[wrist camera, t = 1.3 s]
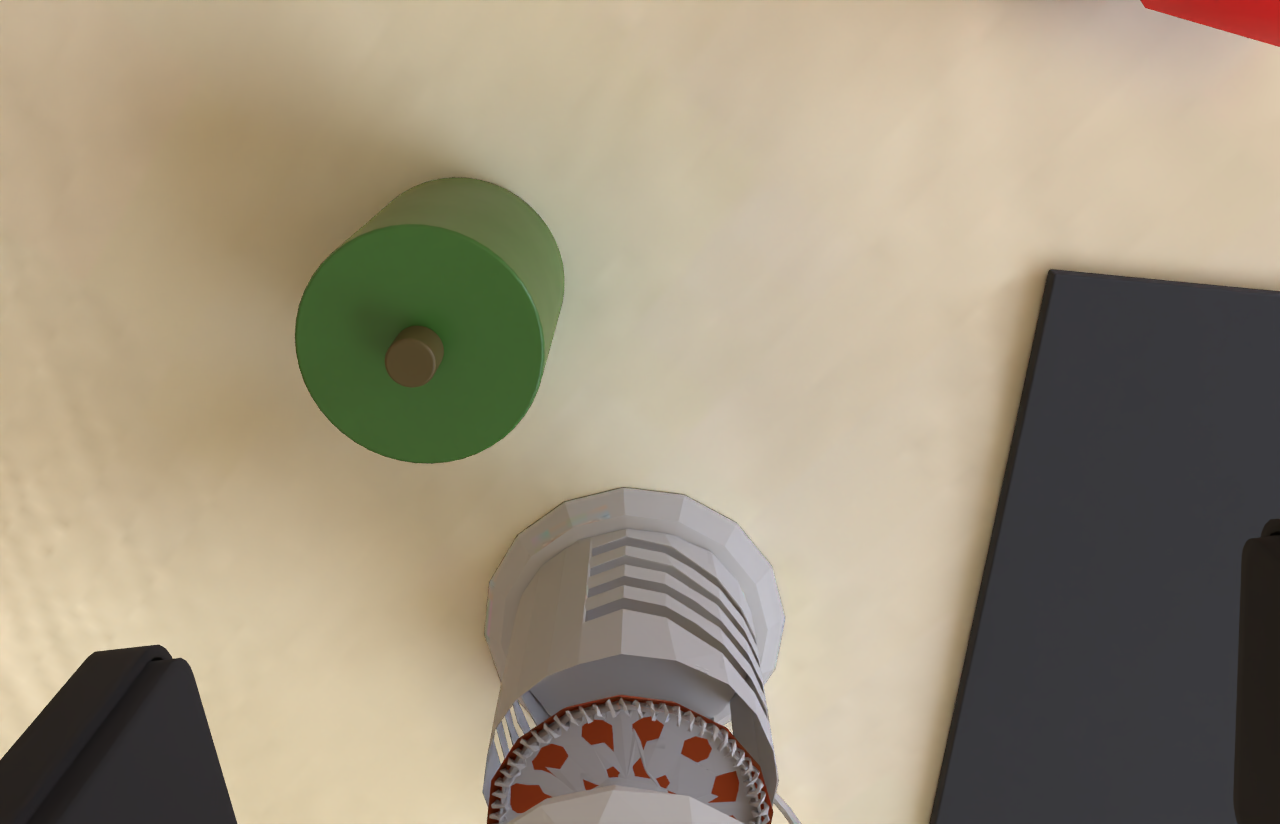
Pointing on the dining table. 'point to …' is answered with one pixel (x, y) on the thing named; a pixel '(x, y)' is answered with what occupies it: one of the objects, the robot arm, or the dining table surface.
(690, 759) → the french press
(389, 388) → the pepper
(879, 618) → the dining table surface
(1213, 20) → the mushroom
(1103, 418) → the mat
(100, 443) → the dining table surface
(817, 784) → the dining table surface
